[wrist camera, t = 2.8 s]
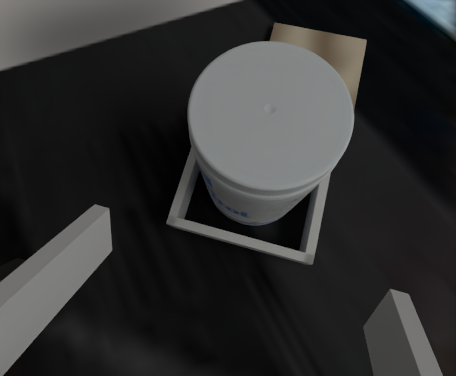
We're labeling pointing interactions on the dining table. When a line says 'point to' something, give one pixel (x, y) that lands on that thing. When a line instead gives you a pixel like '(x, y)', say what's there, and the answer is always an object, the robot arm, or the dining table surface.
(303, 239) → the grey square frame
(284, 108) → the supplement tub
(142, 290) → the dining table surface
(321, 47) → the birch board
